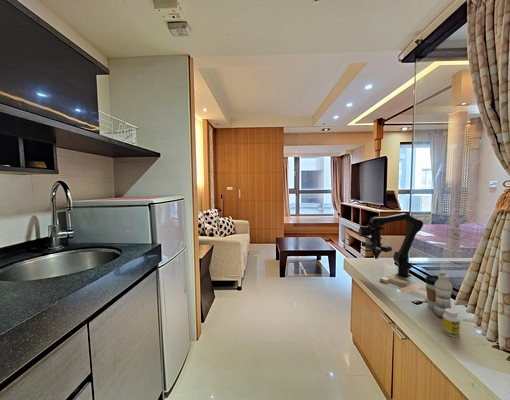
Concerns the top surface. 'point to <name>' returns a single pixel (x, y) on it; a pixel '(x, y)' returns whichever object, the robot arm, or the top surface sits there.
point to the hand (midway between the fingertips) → (376, 258)
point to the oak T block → (393, 280)
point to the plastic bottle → (442, 294)
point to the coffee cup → (431, 290)
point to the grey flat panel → (410, 289)
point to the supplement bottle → (451, 322)
